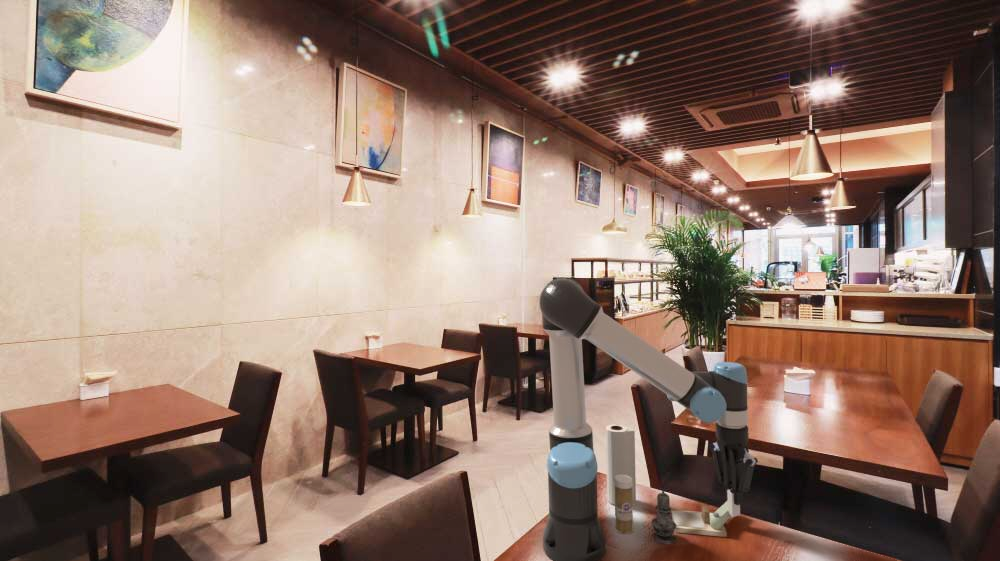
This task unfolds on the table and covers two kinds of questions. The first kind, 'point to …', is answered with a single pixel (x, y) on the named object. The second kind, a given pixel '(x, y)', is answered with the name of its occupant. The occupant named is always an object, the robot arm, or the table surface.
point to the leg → (719, 516)
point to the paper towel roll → (620, 458)
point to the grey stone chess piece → (663, 521)
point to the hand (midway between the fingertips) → (734, 514)
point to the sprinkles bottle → (623, 503)
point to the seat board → (695, 522)
